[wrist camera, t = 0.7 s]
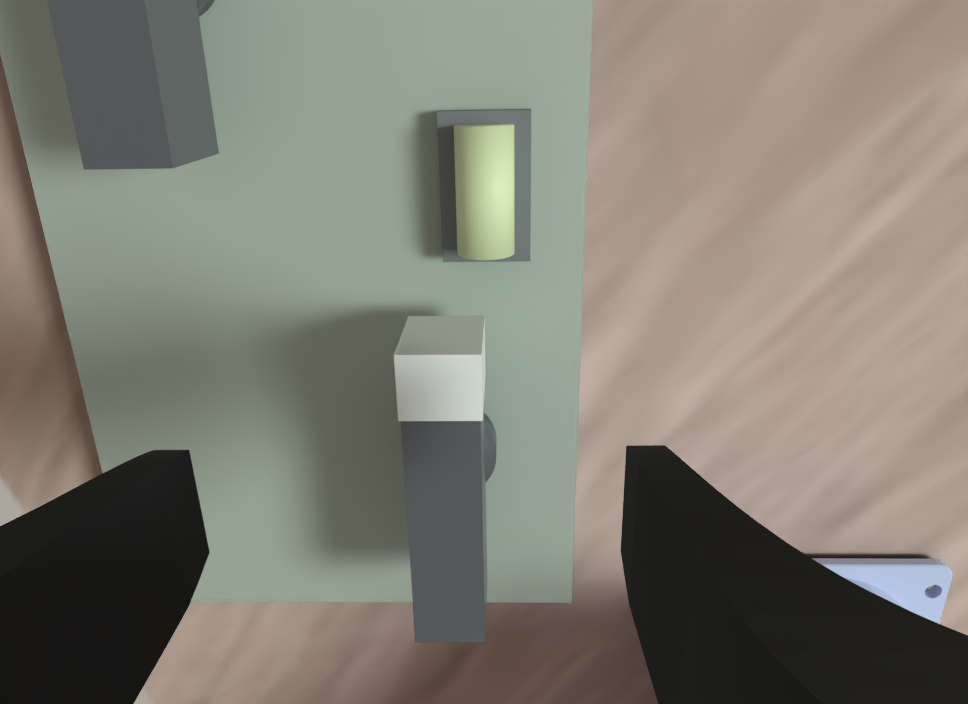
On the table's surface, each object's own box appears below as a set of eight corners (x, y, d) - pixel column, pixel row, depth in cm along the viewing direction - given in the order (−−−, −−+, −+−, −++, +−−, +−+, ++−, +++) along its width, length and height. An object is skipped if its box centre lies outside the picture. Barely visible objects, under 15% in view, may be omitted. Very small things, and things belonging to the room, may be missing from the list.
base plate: (568, 577, 24) (576, 640, 21) (150, 576, 24) (108, 637, 22) (599, -363, 15) (619, -452, 12) (-60, -340, 16) (-174, -421, 13)
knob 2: (497, 556, 22) (496, 644, 19) (418, 556, 22) (403, 643, 19) (495, 303, 19) (492, 354, 16) (403, 304, 19) (382, 355, 16)
